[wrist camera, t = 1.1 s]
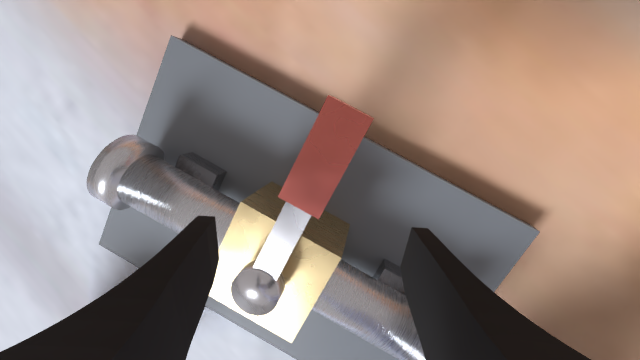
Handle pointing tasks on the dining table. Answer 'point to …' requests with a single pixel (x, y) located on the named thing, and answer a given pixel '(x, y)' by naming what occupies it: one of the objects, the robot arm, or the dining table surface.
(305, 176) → the valve lever
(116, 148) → the valve body
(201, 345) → the dining table surface
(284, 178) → the mounting board
